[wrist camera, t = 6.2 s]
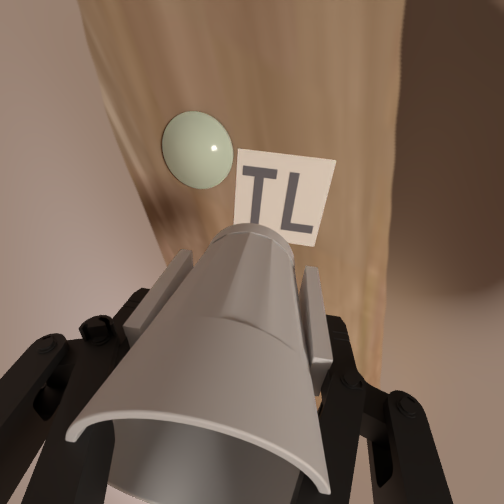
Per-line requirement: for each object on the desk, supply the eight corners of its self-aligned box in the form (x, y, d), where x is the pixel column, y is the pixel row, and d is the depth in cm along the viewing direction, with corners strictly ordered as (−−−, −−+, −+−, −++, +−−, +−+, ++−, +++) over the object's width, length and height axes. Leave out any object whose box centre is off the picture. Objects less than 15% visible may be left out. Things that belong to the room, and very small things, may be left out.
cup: (262, 319, 20) (234, 535, 10) (178, 268, 19) (45, 464, 9) (331, 256, 16) (399, 507, 6) (233, 186, 15) (106, 366, 5)
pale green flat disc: (160, 107, 29) (158, 107, 28) (235, 115, 28) (234, 115, 28) (167, 183, 33) (165, 184, 33) (231, 191, 33) (230, 193, 32)
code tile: (238, 148, 30) (237, 148, 30) (335, 159, 29) (336, 160, 29) (233, 233, 36) (232, 235, 36) (313, 245, 36) (314, 246, 35)
